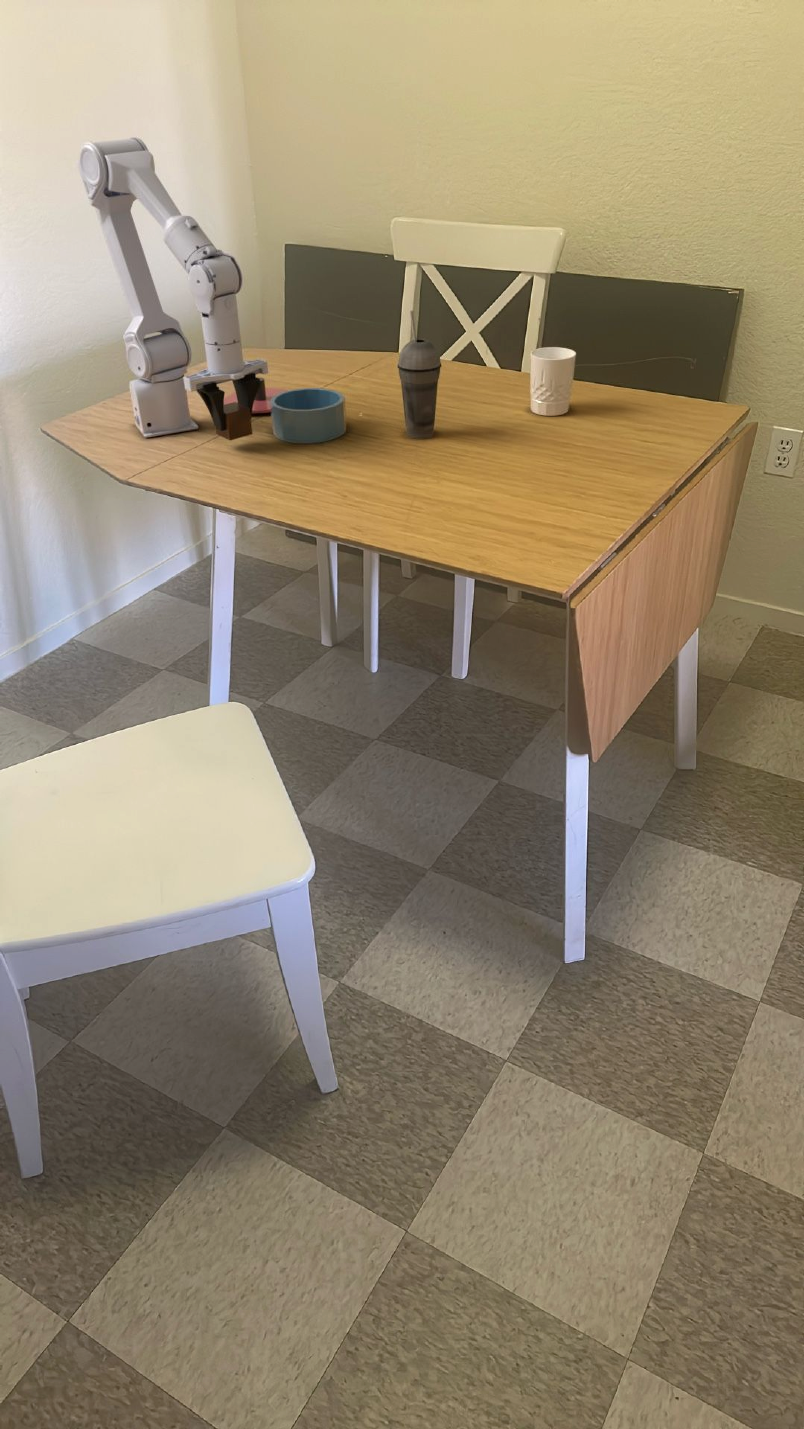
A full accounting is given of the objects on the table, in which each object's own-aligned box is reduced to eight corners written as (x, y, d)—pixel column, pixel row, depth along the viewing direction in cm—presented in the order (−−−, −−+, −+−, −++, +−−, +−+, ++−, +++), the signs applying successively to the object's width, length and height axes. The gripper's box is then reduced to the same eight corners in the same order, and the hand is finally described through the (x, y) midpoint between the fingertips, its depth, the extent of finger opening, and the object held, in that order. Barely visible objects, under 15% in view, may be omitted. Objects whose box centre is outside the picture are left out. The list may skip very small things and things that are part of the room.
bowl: (301, 449, 162) (298, 416, 159) (259, 430, 170) (256, 399, 167) (360, 431, 169) (359, 399, 165) (317, 414, 177) (315, 383, 173)
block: (229, 440, 159) (226, 414, 157) (215, 433, 162) (212, 407, 159) (252, 434, 162) (249, 407, 159) (238, 427, 164) (235, 401, 162)
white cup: (570, 403, 178) (575, 347, 172) (572, 417, 172) (577, 359, 166) (527, 403, 179) (530, 346, 173) (527, 417, 172) (530, 359, 167)
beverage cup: (437, 442, 163) (437, 317, 151) (395, 440, 164) (391, 316, 153) (444, 428, 169) (445, 306, 157) (403, 426, 170) (401, 305, 159)
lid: (249, 421, 174) (246, 395, 171) (210, 404, 182) (206, 379, 180) (311, 404, 181) (309, 379, 178) (270, 389, 190) (267, 364, 187)
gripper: (195, 354, 147) (207, 442, 155) (275, 336, 154) (282, 421, 162) (172, 345, 151) (185, 431, 159) (250, 328, 159) (259, 411, 167)
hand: (232, 425), depth 161 cm, fingers closed on block, 4 cm apart
